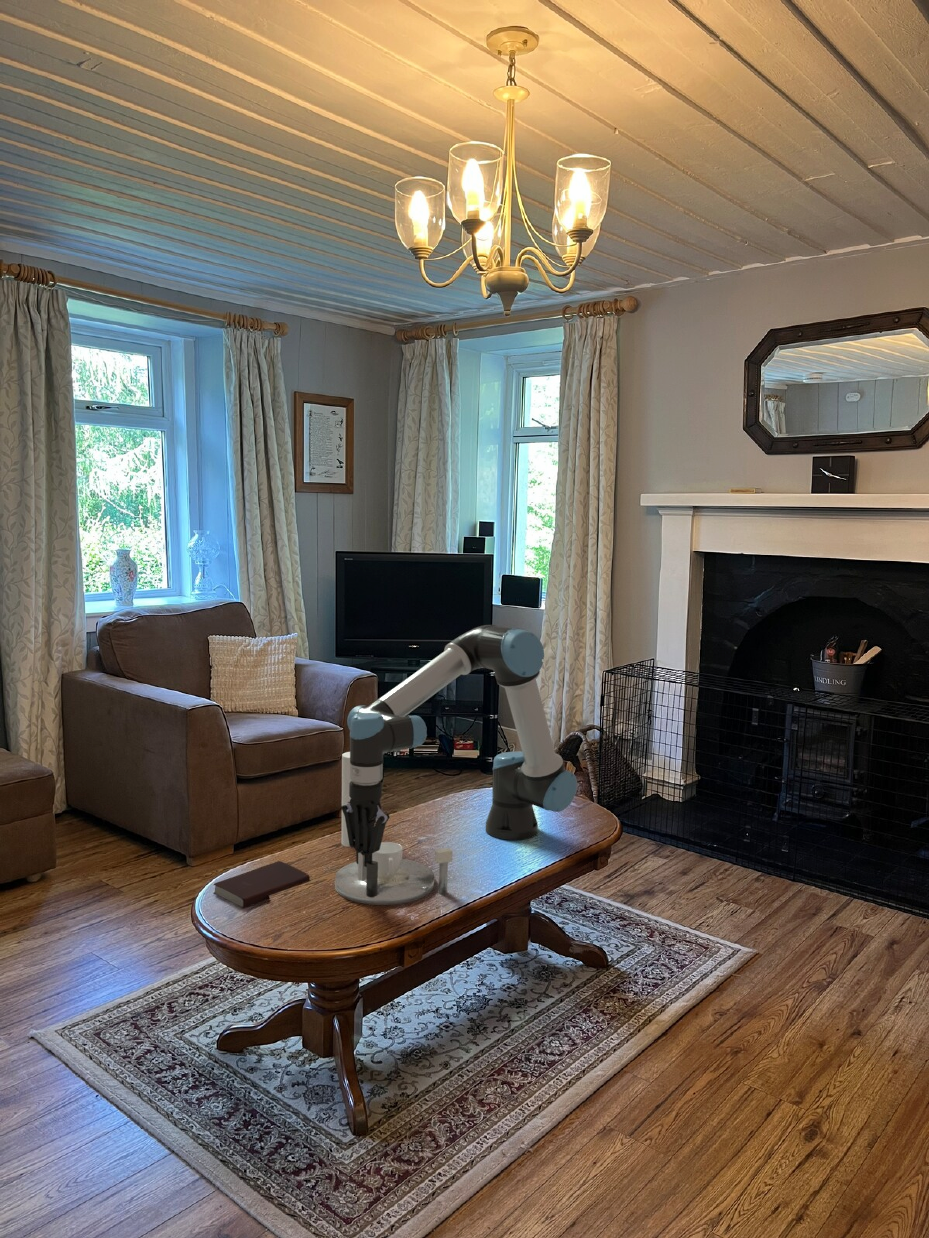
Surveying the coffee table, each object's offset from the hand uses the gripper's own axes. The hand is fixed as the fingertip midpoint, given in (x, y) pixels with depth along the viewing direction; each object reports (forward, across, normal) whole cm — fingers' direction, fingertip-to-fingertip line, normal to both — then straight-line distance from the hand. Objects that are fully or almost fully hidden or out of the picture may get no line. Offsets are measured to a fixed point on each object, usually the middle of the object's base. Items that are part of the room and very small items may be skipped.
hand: (363, 878), depth 209 cm
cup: (+3, 0, +9) cm, 9 cm away
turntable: (+5, -1, +9) cm, 10 cm away
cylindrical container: (+7, -27, +27) cm, 39 cm away
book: (+7, -24, -9) cm, 27 cm away
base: (+6, -1, +9) cm, 10 cm away
